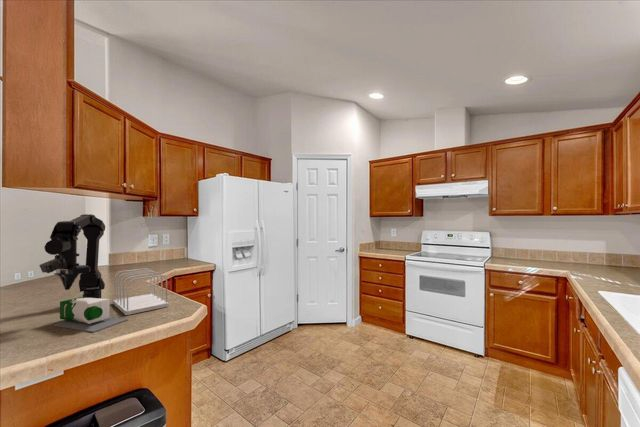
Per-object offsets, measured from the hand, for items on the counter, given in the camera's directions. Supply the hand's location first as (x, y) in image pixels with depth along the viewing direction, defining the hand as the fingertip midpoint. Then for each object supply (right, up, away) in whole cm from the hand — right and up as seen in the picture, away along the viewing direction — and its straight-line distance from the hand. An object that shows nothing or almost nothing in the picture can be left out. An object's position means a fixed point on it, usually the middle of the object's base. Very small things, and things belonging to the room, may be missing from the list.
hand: (67, 289), depth 119 cm
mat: (+14, -12, -4) cm, 19 cm away
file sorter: (+19, -13, +18) cm, 29 cm away
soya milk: (+1, -8, 0) cm, 8 cm away
